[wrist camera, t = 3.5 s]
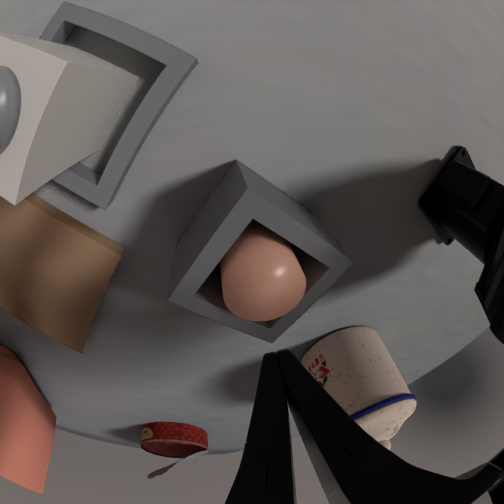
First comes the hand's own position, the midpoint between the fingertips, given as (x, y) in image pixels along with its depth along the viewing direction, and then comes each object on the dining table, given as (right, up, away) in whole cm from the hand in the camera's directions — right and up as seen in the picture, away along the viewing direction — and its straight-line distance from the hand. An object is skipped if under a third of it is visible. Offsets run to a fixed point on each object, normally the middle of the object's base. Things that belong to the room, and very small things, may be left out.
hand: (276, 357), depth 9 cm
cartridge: (-10, +12, +2) cm, 16 cm away
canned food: (-12, -23, +23) cm, 35 cm away
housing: (-1, +5, +8) cm, 9 cm away
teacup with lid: (+8, -8, +17) cm, 21 cm away
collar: (-10, +12, +2) cm, 16 cm away
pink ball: (-1, +4, +7) cm, 8 cm away
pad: (-17, +2, +7) cm, 19 cm away
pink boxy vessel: (-39, -11, +12) cm, 42 cm away
